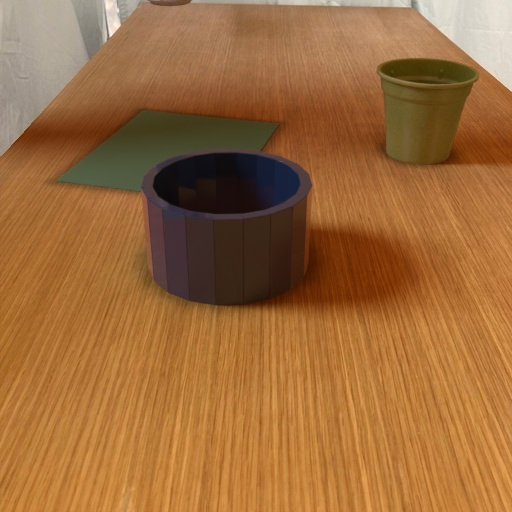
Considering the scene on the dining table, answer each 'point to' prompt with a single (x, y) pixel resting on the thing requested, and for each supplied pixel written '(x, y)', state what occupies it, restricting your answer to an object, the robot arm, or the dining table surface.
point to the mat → (162, 146)
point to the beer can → (169, 2)
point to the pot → (227, 225)
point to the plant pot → (423, 106)
